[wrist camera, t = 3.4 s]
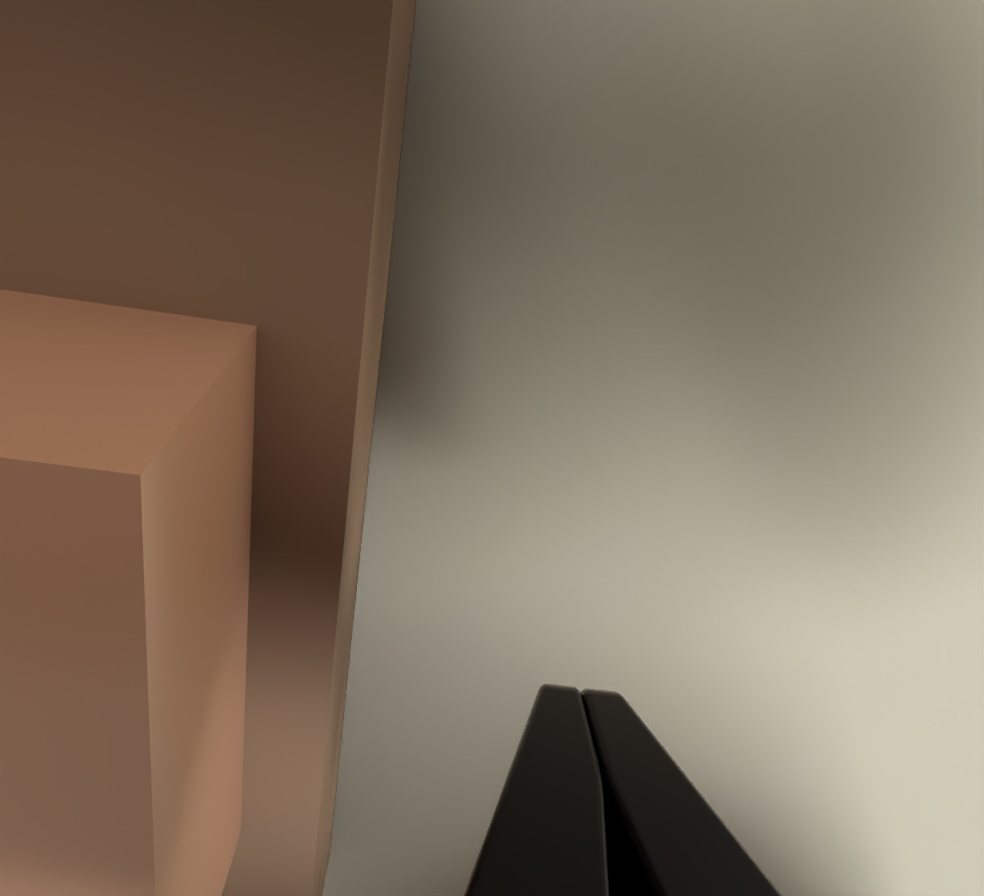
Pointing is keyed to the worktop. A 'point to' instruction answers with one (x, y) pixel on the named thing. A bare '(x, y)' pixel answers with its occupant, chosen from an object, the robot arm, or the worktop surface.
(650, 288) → the worktop surface
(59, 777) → the terracotta tile
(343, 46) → the walnut ledge
